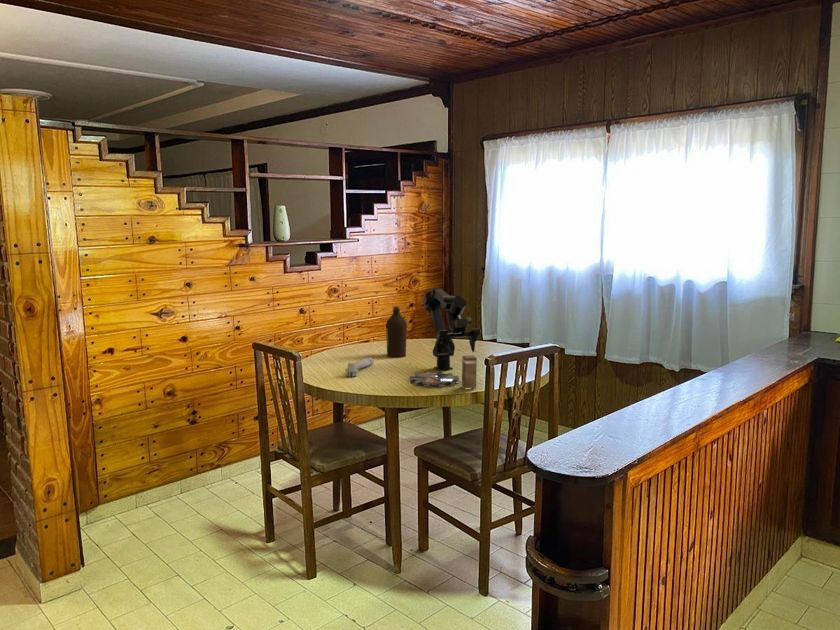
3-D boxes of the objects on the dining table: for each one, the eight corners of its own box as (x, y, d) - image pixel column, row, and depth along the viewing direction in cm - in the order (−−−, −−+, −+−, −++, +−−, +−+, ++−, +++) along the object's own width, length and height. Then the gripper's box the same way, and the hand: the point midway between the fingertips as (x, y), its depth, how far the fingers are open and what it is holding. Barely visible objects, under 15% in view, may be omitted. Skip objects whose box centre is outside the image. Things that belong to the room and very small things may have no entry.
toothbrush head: (375, 357, 293) (355, 361, 269) (374, 371, 293) (354, 376, 269) (364, 356, 294) (343, 360, 270) (364, 370, 295) (343, 376, 270)
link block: (461, 386, 256) (462, 355, 254) (472, 386, 257) (472, 355, 255) (465, 389, 251) (466, 358, 249) (476, 388, 252) (476, 357, 250)
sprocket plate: (400, 378, 268) (400, 373, 268) (442, 372, 279) (442, 367, 278) (425, 390, 250) (425, 384, 250) (468, 383, 260) (468, 378, 260)
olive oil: (408, 353, 318) (408, 305, 314) (405, 358, 307) (405, 308, 304) (388, 353, 319) (387, 304, 315) (384, 357, 309) (383, 307, 305)
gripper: (438, 311, 259) (446, 343, 251) (480, 309, 264) (489, 340, 256) (432, 326, 268) (440, 357, 260) (473, 324, 273) (482, 354, 265)
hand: (463, 352), depth 260 cm, fingers open, 9 cm apart
